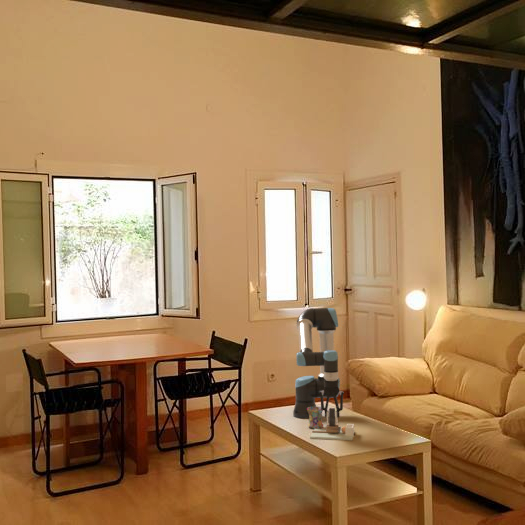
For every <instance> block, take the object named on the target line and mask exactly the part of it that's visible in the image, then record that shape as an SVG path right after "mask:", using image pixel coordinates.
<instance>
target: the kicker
mask: <svg viewBox="0 0 525 525" xmlns="http://www.w3.org/2000/svg"><path fill="white" fill-rule="evenodd" d="M328 408H329V409H328V410H329V424H327V423H326V426H325V429H326V432H335V433H338V432H340V431H341V429H342V427H341V426H340V425H339V423H337V424H336V414H335V412H336V407H335V408H333V407H328Z"/></svg>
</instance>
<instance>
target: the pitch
mask: <svg viewBox="0 0 525 525" xmlns="http://www.w3.org/2000/svg"><path fill="white" fill-rule="evenodd" d="M355 431H356V430H355V429H354V434H353V436H349V435H345V433H343V432H342V431H340V432H338V433H335V432H326V428H313V430H312V433H311V434H310V437H309V439H313V440H333V441H337V440H338V441H353V440H354V436H355V433H356V432H355Z"/></svg>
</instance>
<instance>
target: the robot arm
mask: <svg viewBox="0 0 525 525" xmlns="http://www.w3.org/2000/svg"><path fill="white" fill-rule="evenodd" d="M338 327H339V320H338V314H337V311H336V309H335V308H333V307H319V308H318V307H317V308H316V307H315V308H311V307H310V308H307V309H305V310H304V311H303V312H301V313H300V315H299V316H298V318H297V320H296V329H297V330H298V344H299V345H298V347H299V348H298V350H299V352H297V353H295V355H296V365H297V366H298V367H316V366H317V367H319V369H320V370H319V371H320V372H319V373H318V375H317V378H316V377H315V376H314V375H305V376H300V377H298V378H296V379H295V382H294V383H295V386H294V387H295V403H294V404H295V405H294V408H293V411H292V414H293V417H295V418H297V419H298V418H299V419H309V413H308V410H307V408H308V407H317V405H316V399H318V398H319V399H320V407H321V410H323V411H324V417H325V418H326V425H327V424H329V409H328V408H329V402H330V399H331V398H333V400H334V404H335V424H339V421H338V419H339V418H340V414H341V413H340V412H341V411H343V409H344V408H343V407H344V393H345V392H344V391H343V390H340V385H341V384H340V381H341V379H340V377H339V363H338V362H339V356H338V351H337V350H335V344H334V343H335V341H334V338H335V337H334V336H335V335H334V333H335V332H336V330H337V328H338ZM313 328H315V329H316V332H318V335H319V339H318V340H319V351H314V348H313V335H312V329H313ZM338 397H339V400H340V402H339V401H338ZM324 399H326V400H325V403H324ZM339 403H340V404H339Z"/></svg>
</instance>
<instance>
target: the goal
mask: <svg viewBox="0 0 525 525" xmlns="http://www.w3.org/2000/svg"><path fill="white" fill-rule="evenodd" d="M344 427H345V435H349V436H353V434H354V435H355V433H354V430H355V423H346V426H344ZM353 437H354V436H353Z"/></svg>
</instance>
